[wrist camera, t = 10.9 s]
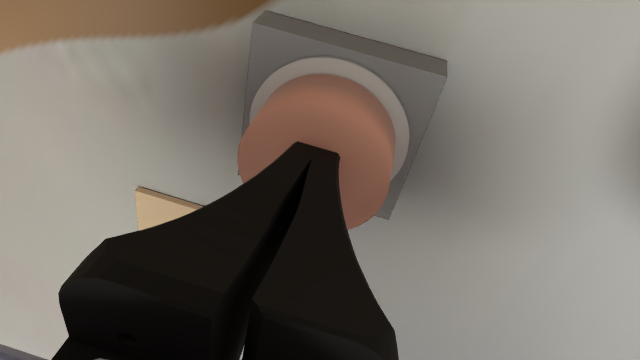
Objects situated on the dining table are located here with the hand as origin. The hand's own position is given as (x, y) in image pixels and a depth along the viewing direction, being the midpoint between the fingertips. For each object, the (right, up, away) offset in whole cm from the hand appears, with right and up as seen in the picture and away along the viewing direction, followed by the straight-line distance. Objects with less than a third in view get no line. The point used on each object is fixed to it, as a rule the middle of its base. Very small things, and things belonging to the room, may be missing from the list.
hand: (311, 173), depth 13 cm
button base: (+1, +2, +3) cm, 4 cm away
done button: (0, +1, +1) cm, 2 cm away
